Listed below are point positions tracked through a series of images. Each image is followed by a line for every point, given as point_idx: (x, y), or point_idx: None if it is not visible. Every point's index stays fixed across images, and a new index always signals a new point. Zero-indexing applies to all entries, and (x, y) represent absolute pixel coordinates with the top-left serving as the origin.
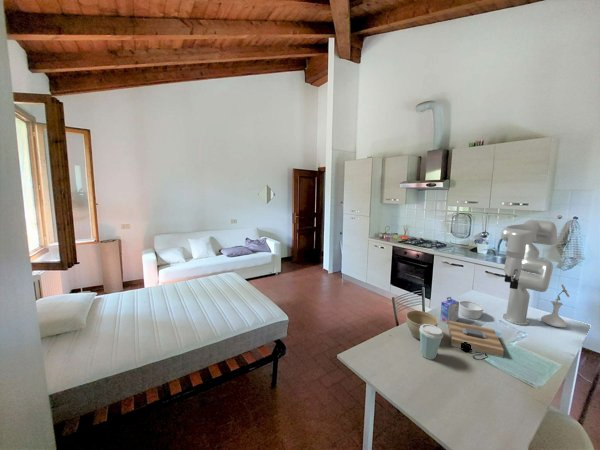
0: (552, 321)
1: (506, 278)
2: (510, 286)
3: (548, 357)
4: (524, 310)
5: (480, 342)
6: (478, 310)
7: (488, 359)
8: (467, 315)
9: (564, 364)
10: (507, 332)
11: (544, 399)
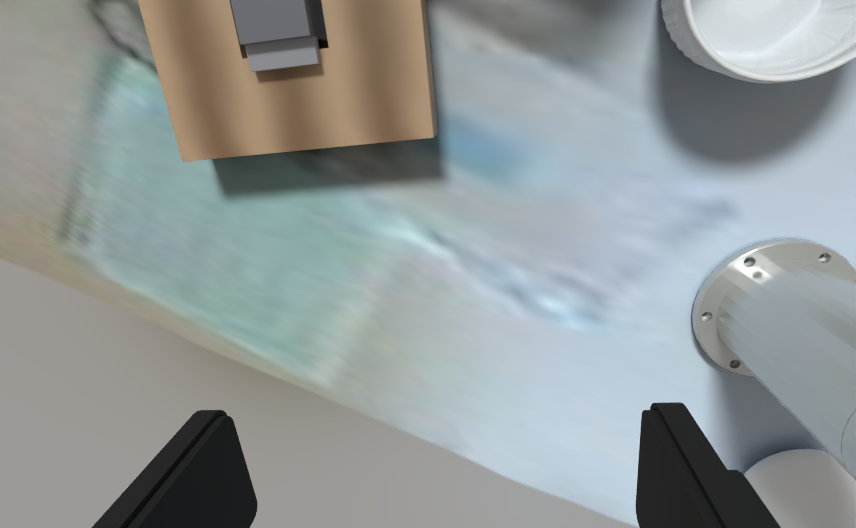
0: (765, 494)
1: (679, 505)
2: (178, 440)
3: (358, 357)
4: (774, 394)
5: (179, 29)
6: (692, 31)
7: (139, 79)
8: None
9: (335, 397)
10: (541, 226)
11: (15, 260)
